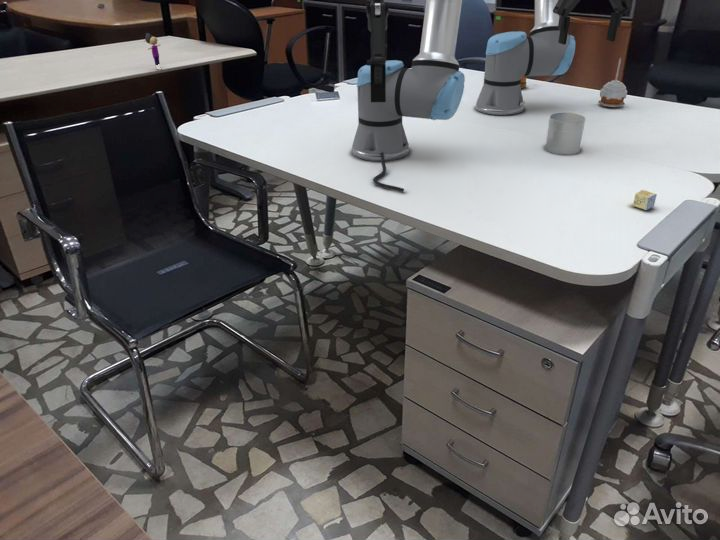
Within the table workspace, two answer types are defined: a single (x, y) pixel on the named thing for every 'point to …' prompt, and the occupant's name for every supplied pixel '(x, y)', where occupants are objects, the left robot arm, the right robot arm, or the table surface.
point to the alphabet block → (644, 200)
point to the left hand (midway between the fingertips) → (377, 92)
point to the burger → (523, 82)
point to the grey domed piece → (613, 92)
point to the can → (565, 133)
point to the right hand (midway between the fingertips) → (586, 42)
